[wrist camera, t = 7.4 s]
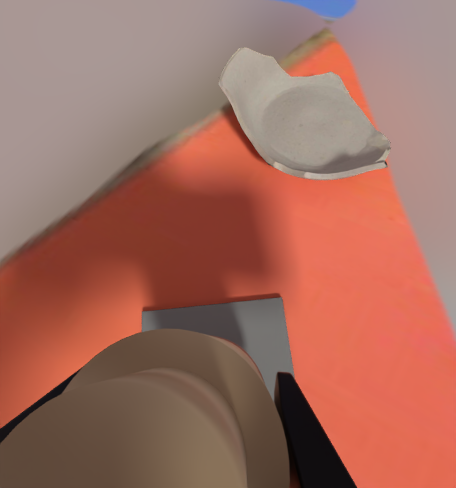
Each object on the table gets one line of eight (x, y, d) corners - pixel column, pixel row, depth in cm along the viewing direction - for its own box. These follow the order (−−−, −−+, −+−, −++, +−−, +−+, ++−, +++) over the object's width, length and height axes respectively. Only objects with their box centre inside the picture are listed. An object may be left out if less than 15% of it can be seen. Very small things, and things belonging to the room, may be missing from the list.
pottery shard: (378, 206, 20) (418, 165, 15) (222, 208, 21) (214, 169, 16) (359, 93, 23) (388, 31, 19) (225, 98, 24) (220, 39, 19)
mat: (307, 465, 15) (308, 467, 15) (142, 479, 15) (140, 482, 15) (281, 298, 18) (281, 297, 18) (143, 312, 18) (141, 311, 18)
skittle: (242, 468, 13) (229, 1176, 2) (146, 422, 14) (-248, 730, 3) (276, 358, 15) (374, 402, 3) (187, 323, 16) (35, 266, 4)
